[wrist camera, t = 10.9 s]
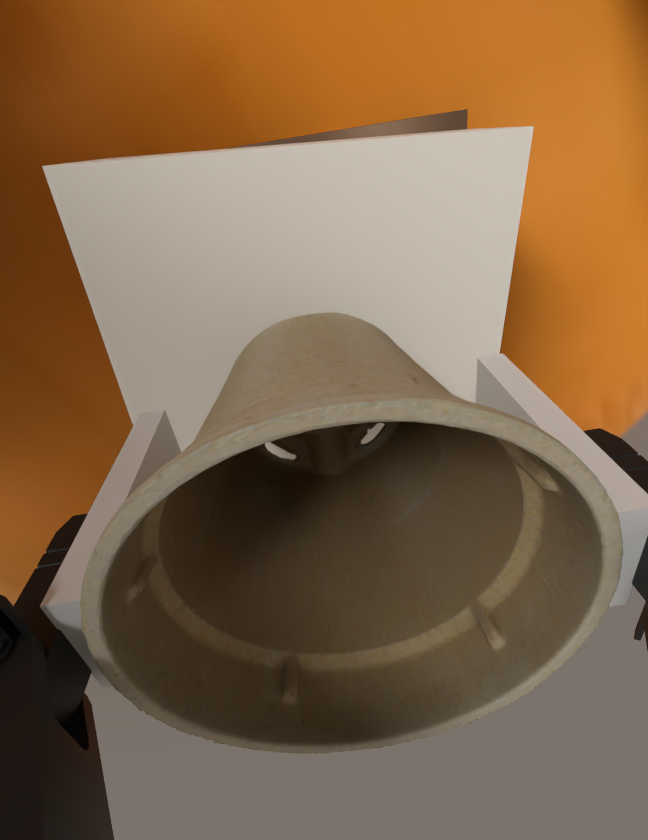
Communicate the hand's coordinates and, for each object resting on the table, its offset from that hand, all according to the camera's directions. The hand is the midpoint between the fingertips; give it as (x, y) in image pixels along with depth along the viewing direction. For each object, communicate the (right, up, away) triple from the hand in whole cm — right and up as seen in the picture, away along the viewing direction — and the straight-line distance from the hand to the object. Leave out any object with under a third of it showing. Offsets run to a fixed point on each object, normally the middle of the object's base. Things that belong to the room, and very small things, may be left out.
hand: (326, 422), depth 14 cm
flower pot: (0, +1, +2) cm, 2 cm away
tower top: (-1, +5, +7) cm, 8 cm away
